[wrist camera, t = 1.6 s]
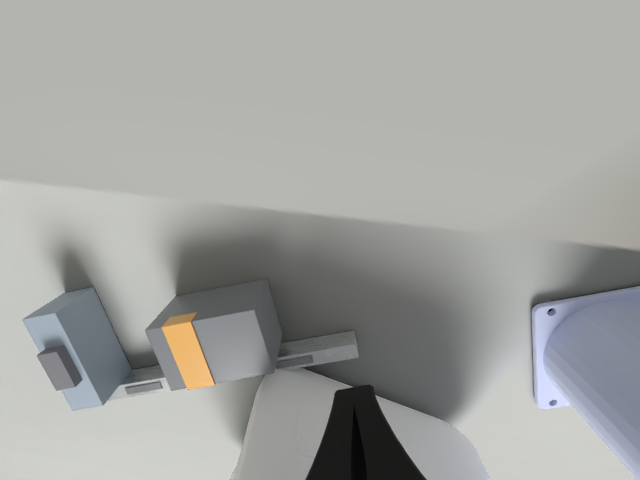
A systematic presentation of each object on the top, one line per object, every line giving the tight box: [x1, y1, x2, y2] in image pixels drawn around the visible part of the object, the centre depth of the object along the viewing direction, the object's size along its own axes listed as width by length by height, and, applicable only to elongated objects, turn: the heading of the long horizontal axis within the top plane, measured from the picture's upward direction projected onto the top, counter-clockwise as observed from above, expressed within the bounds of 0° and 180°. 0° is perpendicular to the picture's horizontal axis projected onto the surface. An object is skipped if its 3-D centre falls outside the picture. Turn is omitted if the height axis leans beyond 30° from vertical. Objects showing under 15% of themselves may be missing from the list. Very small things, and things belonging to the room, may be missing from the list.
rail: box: [107, 330, 359, 401], centre depth 22 cm, size 18×1×2 cm, turn 102°
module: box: [145, 278, 283, 391], centre depth 20 cm, size 6×4×4 cm
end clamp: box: [22, 287, 132, 411], centre depth 21 cm, size 2×6×4 cm, turn 13°
